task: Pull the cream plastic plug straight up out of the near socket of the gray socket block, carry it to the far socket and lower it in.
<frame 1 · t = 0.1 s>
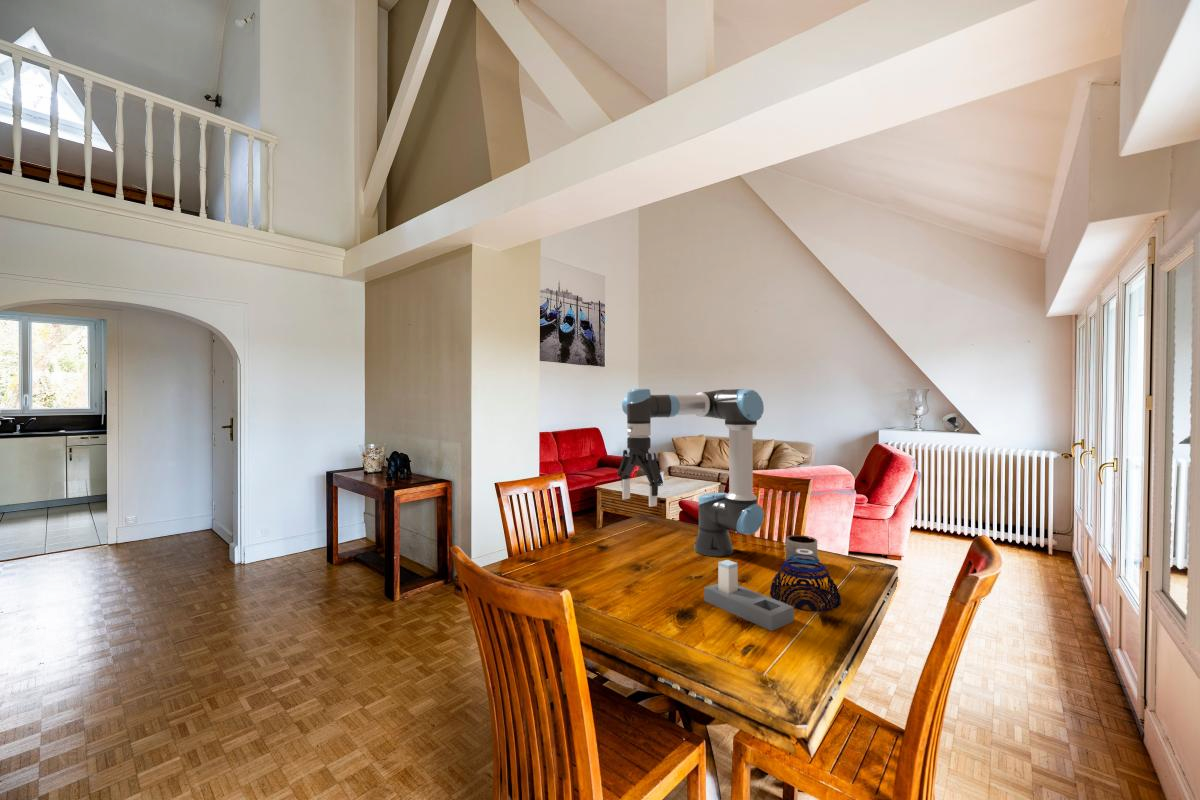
hand: (639, 502, 160), 28 cm above the table, fingers open, 13 cm apart
decorative bowl: (804, 598, 153), on the table
gray socket block: (746, 610, 144), on the table
plug: (728, 602, 150), resting in gray socket block
planter: (801, 565, 183), on the table
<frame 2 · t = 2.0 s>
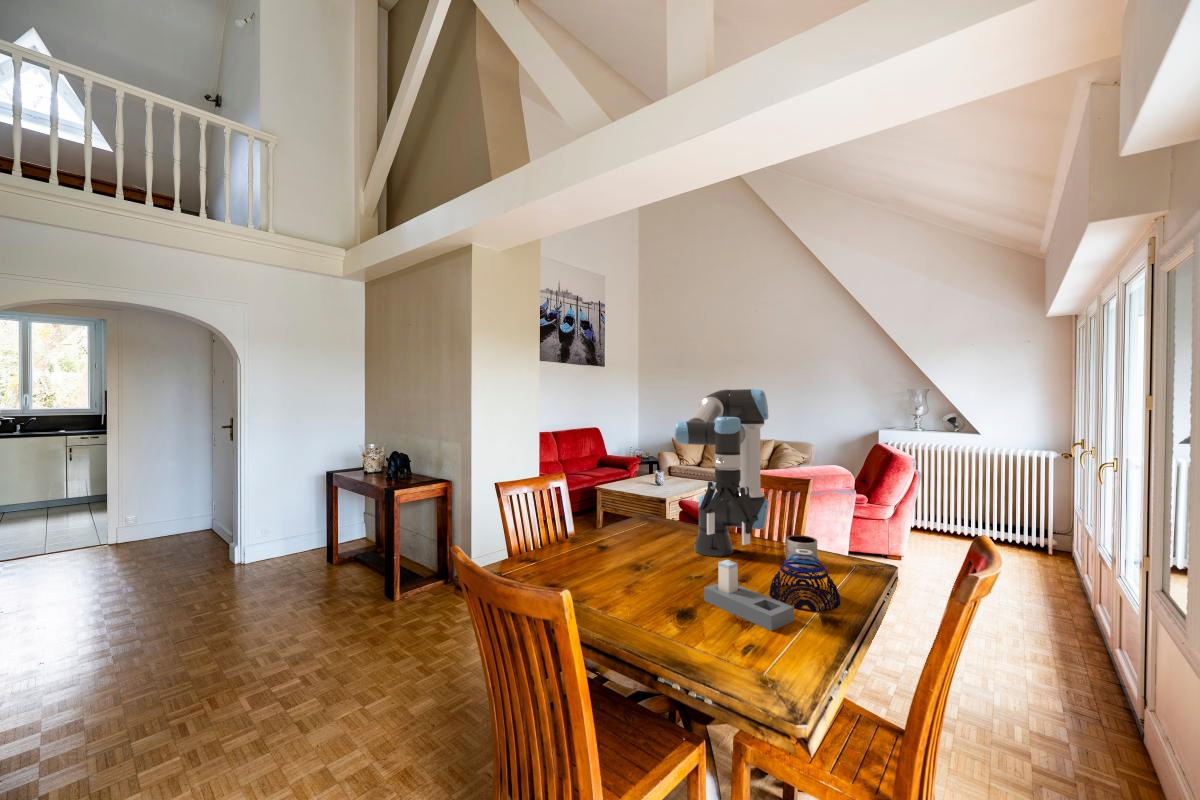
hand: (727, 539, 149), 19 cm above the table, fingers open, 13 cm apart
nothing on the table moved.
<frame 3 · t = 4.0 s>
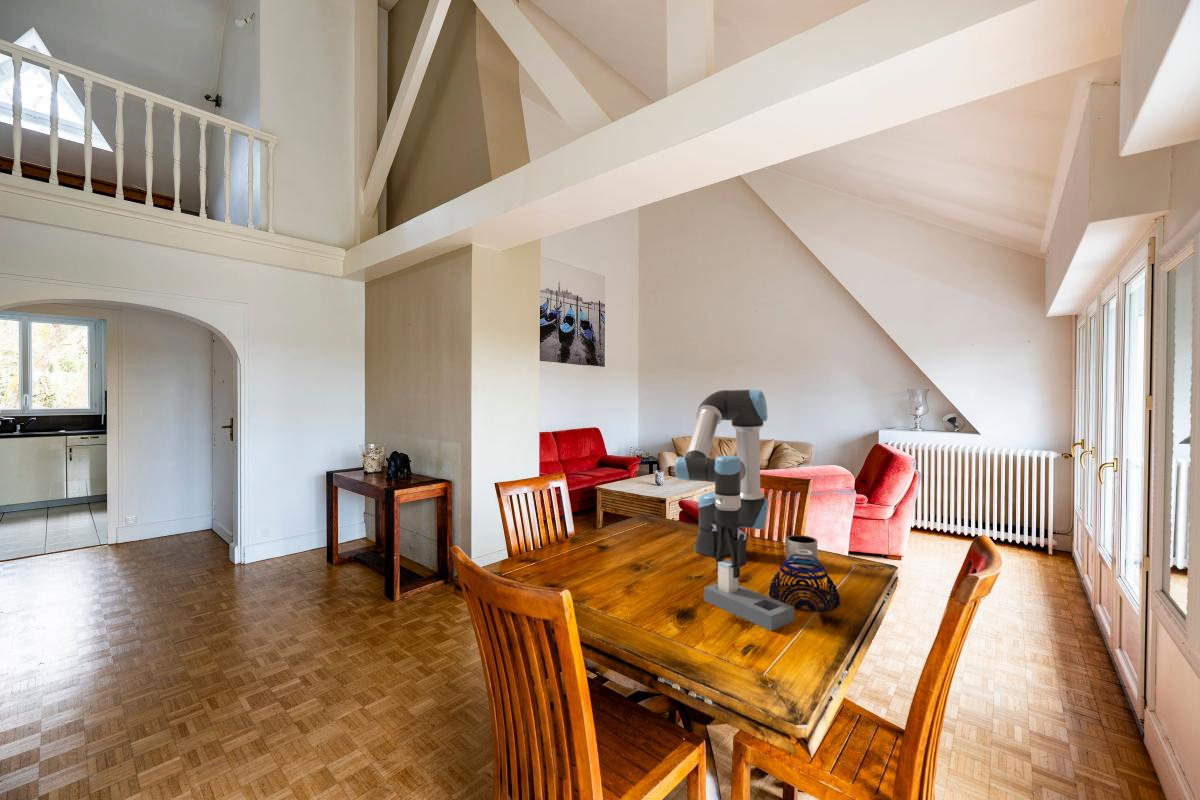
hand: (727, 585, 150), 5 cm above the table, fingers closed on plug, 4 cm apart
plug: (728, 602, 150), resting in gray socket block, touching gripper
everything else where it was.
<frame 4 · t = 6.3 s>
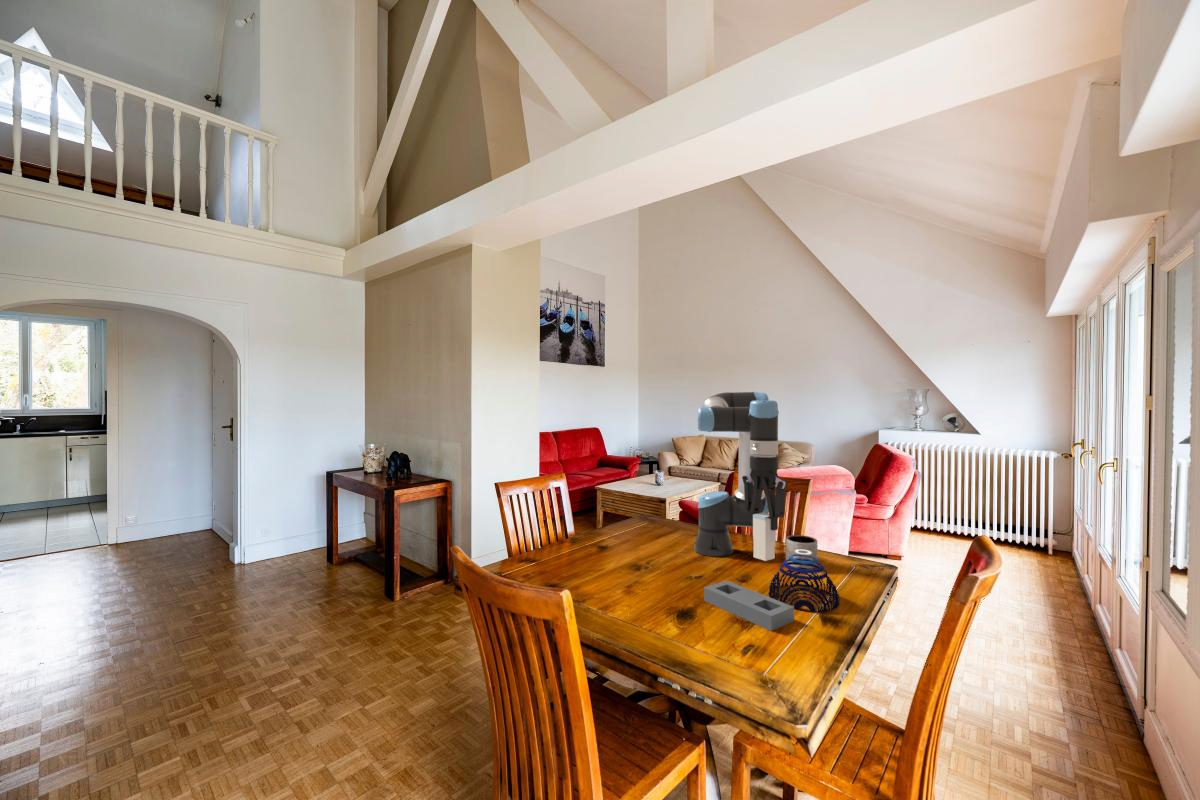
hand: (764, 539, 139), 22 cm above the table, fingers closed on plug, 4 cm apart
plug: (764, 557, 138), point 17 cm above the table, touching gripper
everything else where it was.
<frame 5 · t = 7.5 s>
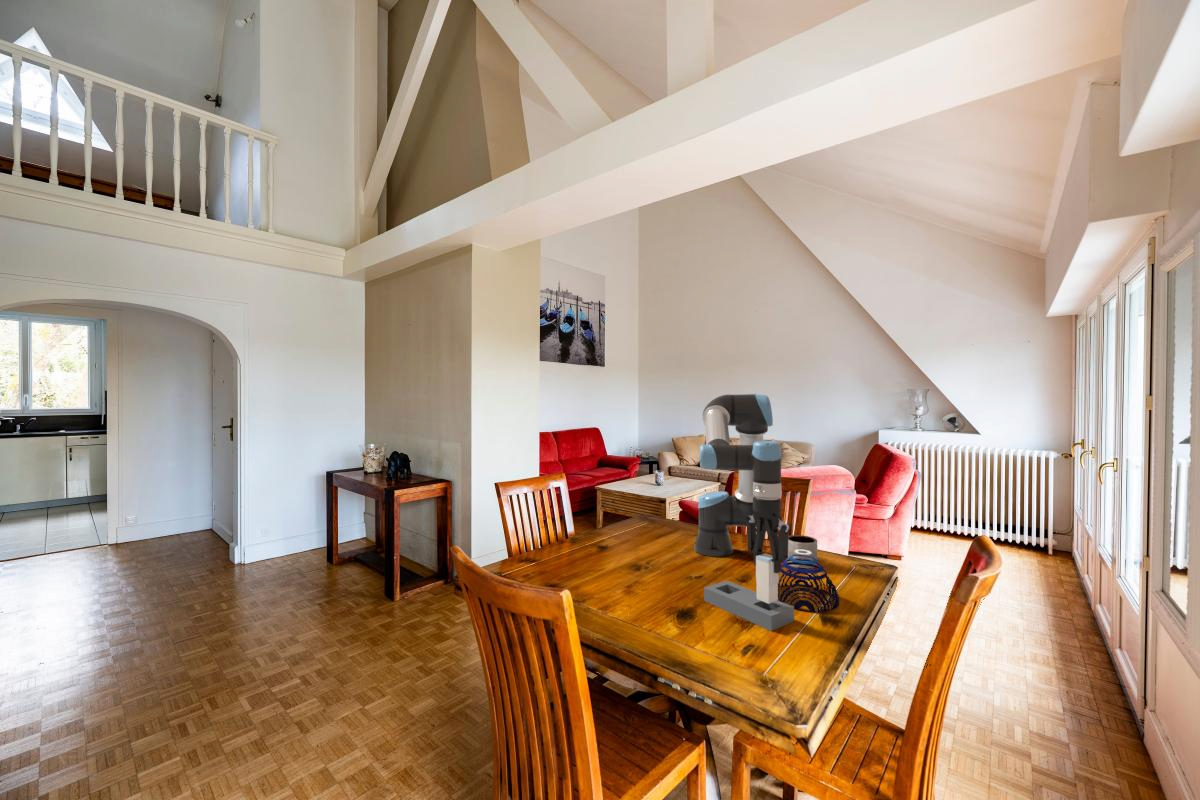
hand: (767, 581, 138), 11 cm above the table, fingers closed on plug, 4 cm apart
plug: (767, 599, 138), point 6 cm above the table, touching gripper
everything else where it was.
when the fingers open (6 cm above the table, at t = 8.7 s): plug stays where it is, resting in gray socket block.
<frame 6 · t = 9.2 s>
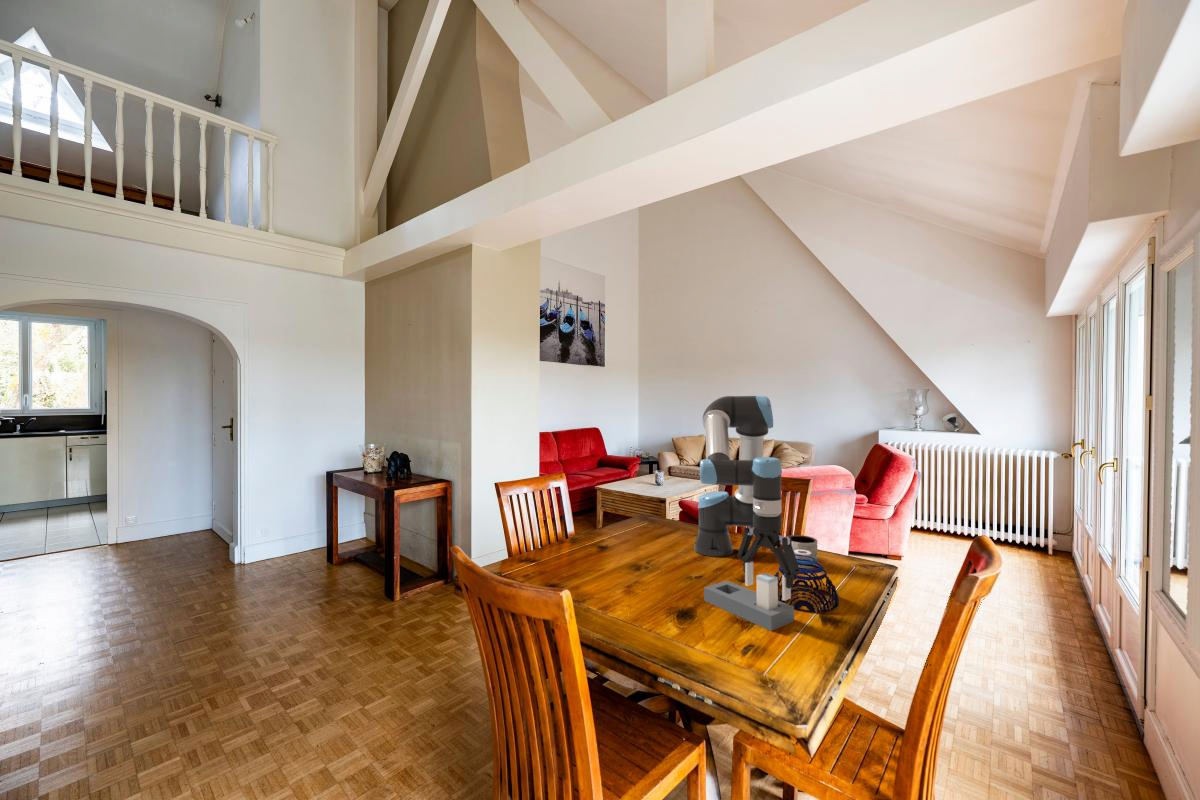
hand: (767, 591, 138), 8 cm above the table, fingers open, 11 cm apart
plug: (767, 619, 138), resting in gray socket block
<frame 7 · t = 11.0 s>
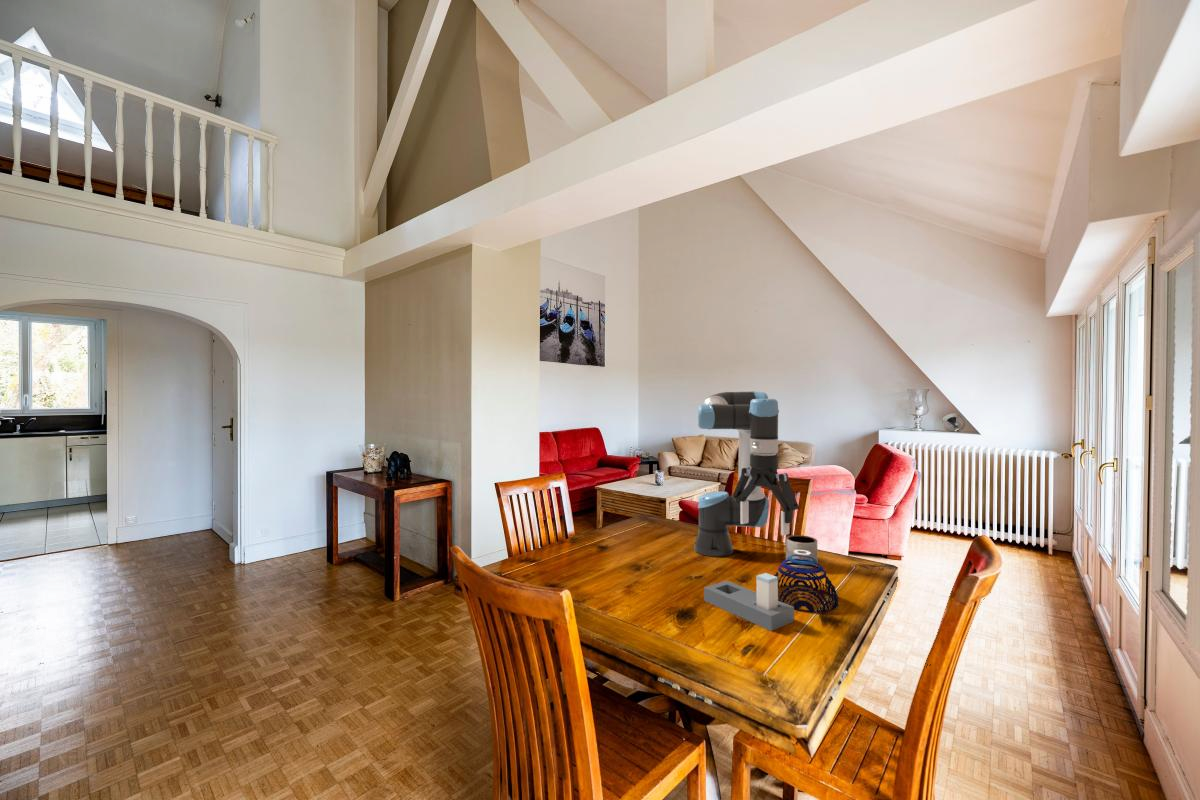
hand: (764, 528, 140), 25 cm above the table, fingers open, 13 cm apart
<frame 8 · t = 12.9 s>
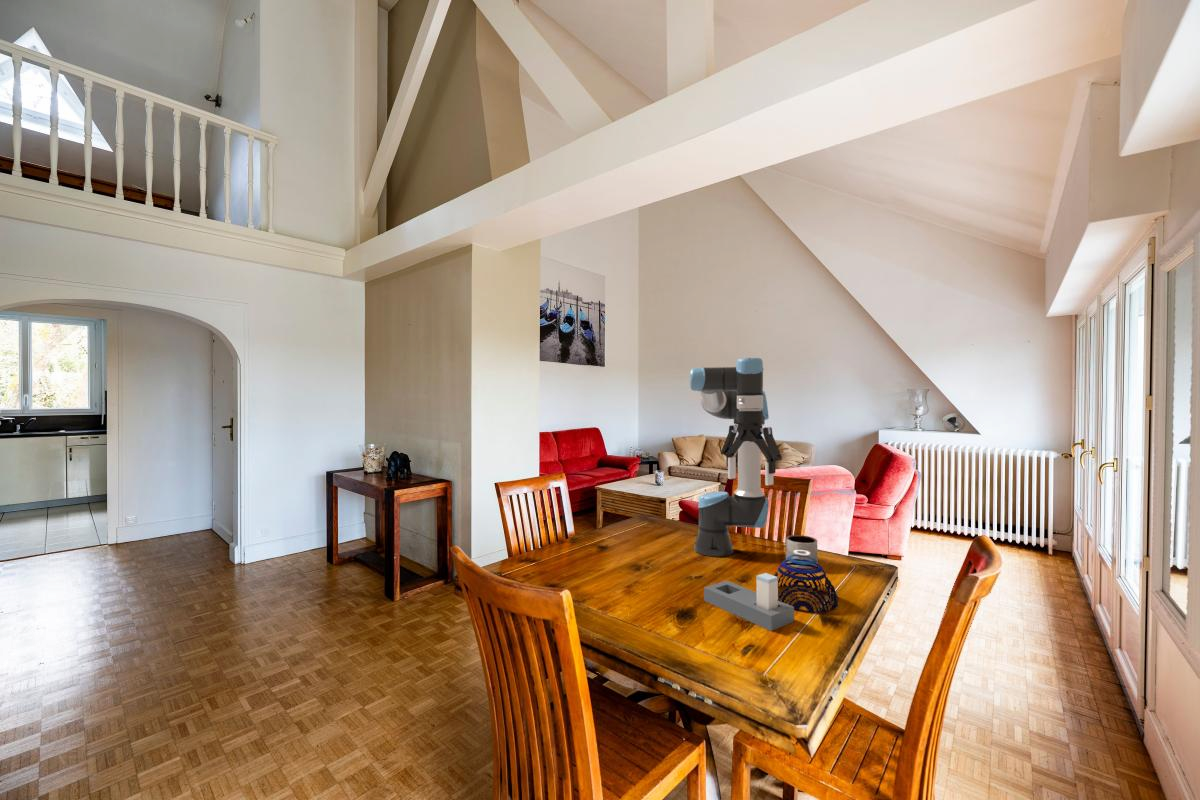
hand: (749, 481, 148), 37 cm above the table, fingers open, 13 cm apart
at the end: plug 0.0 cm from the target spot on the gray socket block, point 0.0 cm above the gray socket block's base; plug tilted 0°; the gripper is holding nothing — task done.
